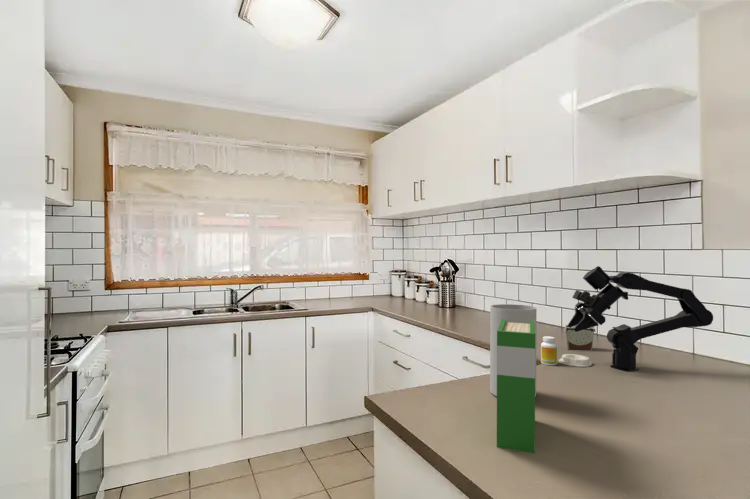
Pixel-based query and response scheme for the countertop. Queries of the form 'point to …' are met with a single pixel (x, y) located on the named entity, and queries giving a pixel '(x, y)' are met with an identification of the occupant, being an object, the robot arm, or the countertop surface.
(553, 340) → the supplement bottle
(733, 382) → the countertop surface
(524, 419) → the hardback book
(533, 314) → the cylinder vase
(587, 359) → the holder ring
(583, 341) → the food container
